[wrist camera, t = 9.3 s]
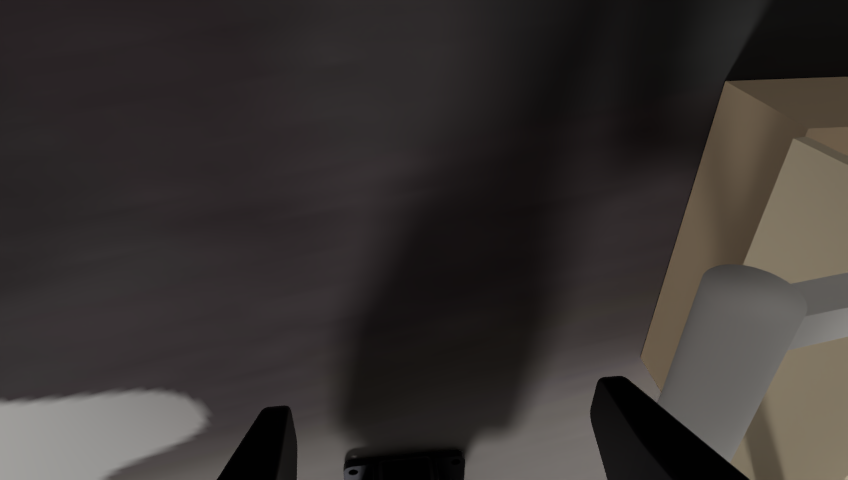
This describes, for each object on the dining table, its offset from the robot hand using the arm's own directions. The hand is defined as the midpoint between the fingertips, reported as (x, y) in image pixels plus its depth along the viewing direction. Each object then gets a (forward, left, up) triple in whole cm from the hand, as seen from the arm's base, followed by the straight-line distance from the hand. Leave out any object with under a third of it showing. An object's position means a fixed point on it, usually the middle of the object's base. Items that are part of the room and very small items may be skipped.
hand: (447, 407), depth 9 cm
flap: (-6, -12, -5) cm, 15 cm away
